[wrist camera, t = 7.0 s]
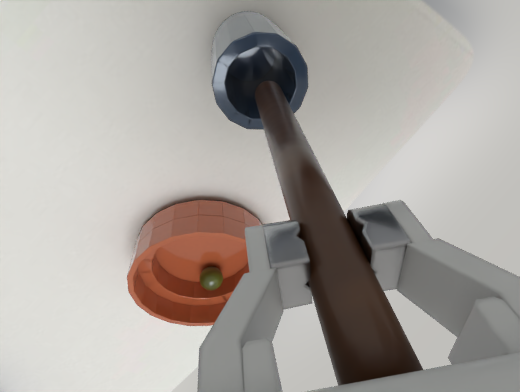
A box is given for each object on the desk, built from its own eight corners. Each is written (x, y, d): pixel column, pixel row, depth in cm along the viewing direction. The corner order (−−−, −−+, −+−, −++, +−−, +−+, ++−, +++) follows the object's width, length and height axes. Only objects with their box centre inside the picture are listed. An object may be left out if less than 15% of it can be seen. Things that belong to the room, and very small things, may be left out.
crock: (278, 4, 25) (305, 23, 18) (285, 81, 29) (309, 122, 22) (204, 17, 25) (202, 41, 18) (220, 92, 29) (223, 137, 22)
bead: (220, 259, 41) (220, 278, 39) (224, 274, 43) (225, 292, 40) (197, 263, 41) (196, 282, 39) (202, 278, 43) (202, 297, 40)
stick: (278, 74, 18) (666, 788, 3) (281, 101, 19) (576, 739, 4) (251, 79, 18) (481, 828, 3) (255, 105, 19) (439, 765, 4)
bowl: (259, 184, 36) (266, 219, 31) (274, 275, 45) (281, 312, 41) (115, 210, 35) (101, 249, 30) (162, 295, 45) (156, 335, 40)
